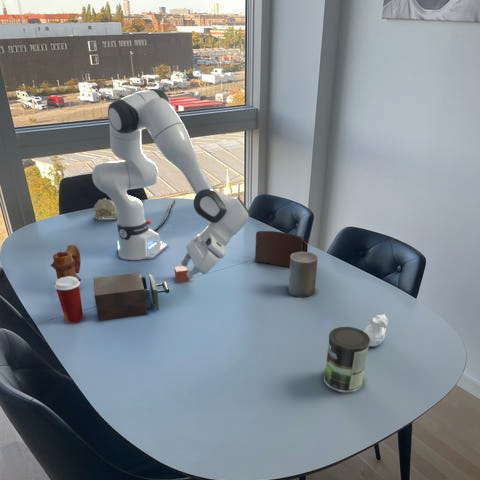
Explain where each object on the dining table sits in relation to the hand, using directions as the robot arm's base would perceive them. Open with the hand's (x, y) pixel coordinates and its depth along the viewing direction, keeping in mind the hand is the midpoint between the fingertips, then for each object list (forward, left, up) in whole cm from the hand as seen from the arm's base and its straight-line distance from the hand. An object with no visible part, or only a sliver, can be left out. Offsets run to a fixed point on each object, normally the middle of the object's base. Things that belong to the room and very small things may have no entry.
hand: (185, 270), depth 159 cm
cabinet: (+16, -16, -11) cm, 25 cm away
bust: (-4, +65, -12) cm, 66 cm away
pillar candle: (-26, +33, -12) cm, 44 cm away
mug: (+12, -43, -12) cm, 46 cm away
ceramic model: (-56, -88, -12) cm, 105 cm away
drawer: (+11, -11, -10) cm, 19 cm away
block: (-13, -11, -11) cm, 21 cm away
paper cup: (+29, -25, -12) cm, 40 cm away
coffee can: (+18, +63, -12) cm, 67 cm away
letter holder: (-48, +15, -12) cm, 51 cm away
